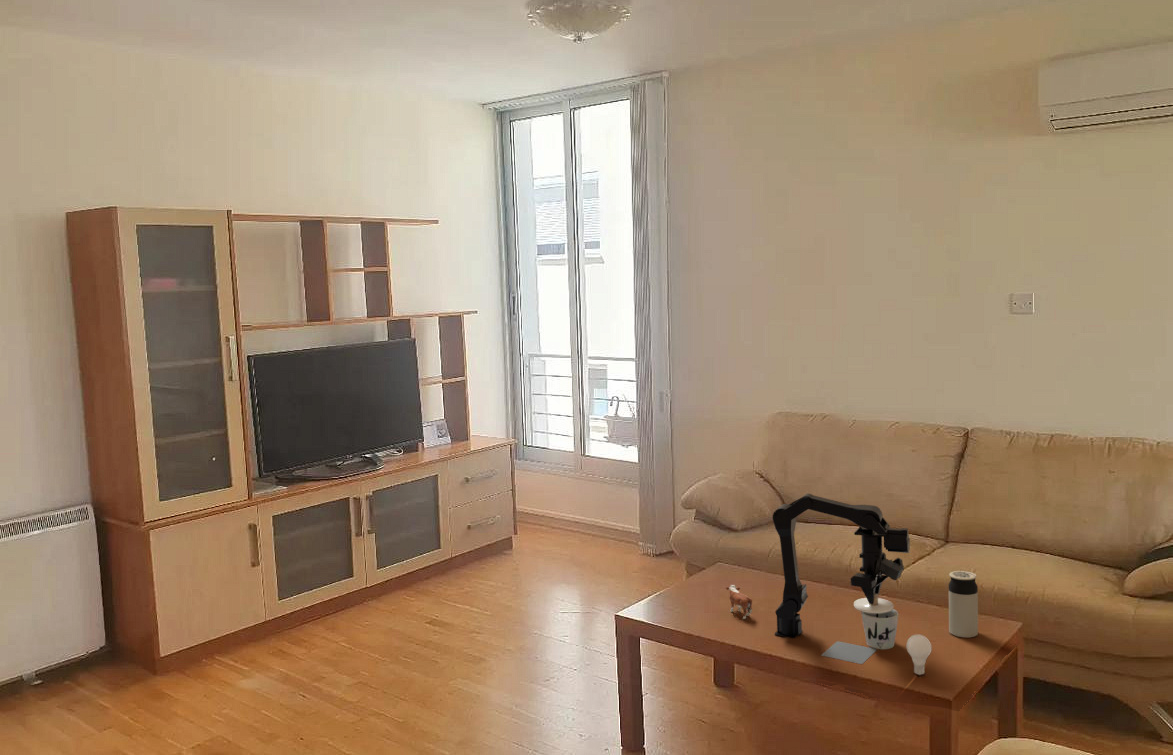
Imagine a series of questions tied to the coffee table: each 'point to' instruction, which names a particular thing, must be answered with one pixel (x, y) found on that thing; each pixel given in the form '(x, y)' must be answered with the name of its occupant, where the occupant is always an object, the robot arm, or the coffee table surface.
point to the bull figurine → (740, 600)
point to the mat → (849, 652)
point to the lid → (873, 605)
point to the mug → (880, 629)
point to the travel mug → (963, 604)
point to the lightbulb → (919, 651)
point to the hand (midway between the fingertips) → (873, 602)
